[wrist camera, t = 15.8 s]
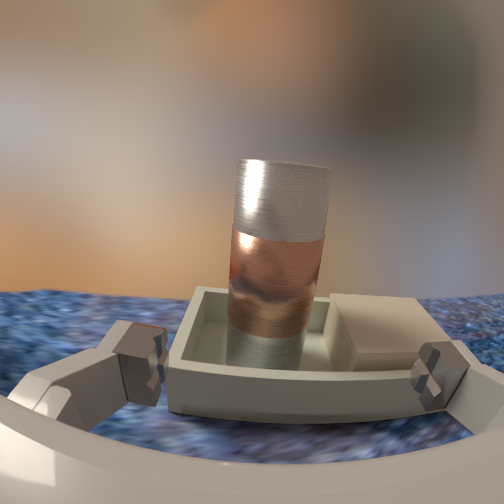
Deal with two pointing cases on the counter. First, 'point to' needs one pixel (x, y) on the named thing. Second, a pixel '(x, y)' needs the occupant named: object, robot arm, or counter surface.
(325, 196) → the steel can
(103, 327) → the counter surface
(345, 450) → the counter surface
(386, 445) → the counter surface
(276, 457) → the counter surface
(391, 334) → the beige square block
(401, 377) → the tote
